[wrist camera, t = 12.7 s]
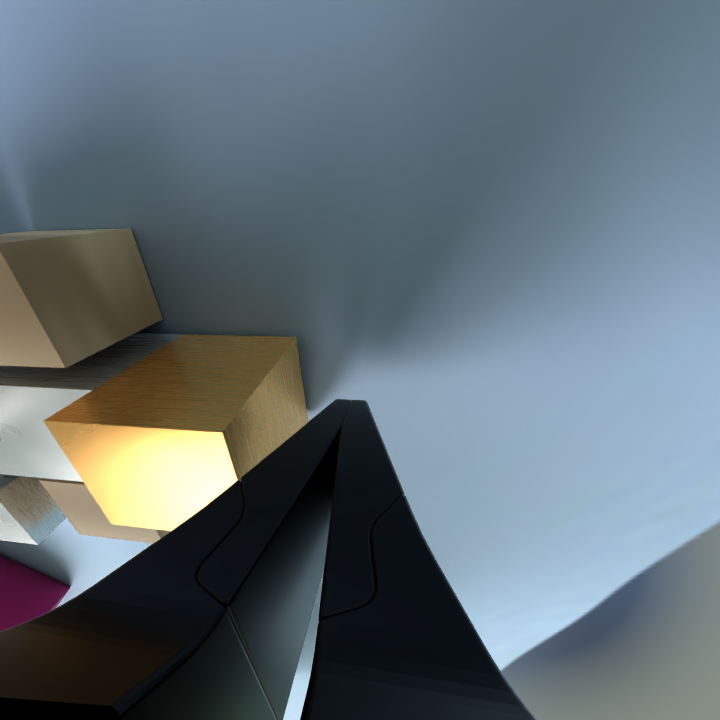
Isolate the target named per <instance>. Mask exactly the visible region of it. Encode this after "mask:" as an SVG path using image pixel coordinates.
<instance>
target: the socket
mask: <svg viewBox="0 0 720 720" xmlns="http://www.w3.org/2000/svg"><path fill="white" fill-rule="evenodd" d="M40 479H41V478H37V477H26V476H16V475H5V474H0V540H3V541H11V542H19V543H27V544H34V545H38V544H39V543H40V542H41V541H42V540H44V539H45V538H46V537H47V536H48V535H49V534H50V533H51V532H52V531H53V530H54V529H55V528H56V527H57V526H58V525H59V524H60V523H61V522H62V521H64V520H65V519H66V518H67V517H66V516H65V514H64V513H63V512H62V510H61V509H60V508H59V506H58V505H57V504H56V503H55V501H54V500H53V499H52V497H51V496H50V495H49V493H48V492H47V491H46V489H45V488H44V487H43V485H42V484H41V483H40V481H39V480H40Z"/></svg>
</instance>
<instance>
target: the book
mask: <svg viewBox="0 0 720 720" xmlns="http://www.w3.org/2000/svg"><path fill="white" fill-rule="evenodd" d="M69 589H70V587H69V586H67V585H65V584H63V583H60V582H58V581H56V580H54V579H52V578H50V577H47V576H45V575H43V574H41V573H39V572H37V571H35V570H32V569H30V568H28V567H26V566H24V565H22V564H20V563H17V562H15V561H13V560H11V559H9V558H7V557H4V556H2V555H0V631H2V630H5V629H8V628H11V627H14V626H17V625H19V624H22V623H25V622H27V621H30V620H32V619H34V618H37V617H39V616H41V615H43V614H45V613H47V612H49V611H51V610H53V609H55V608H56V607H57V605H58V604H59V603H60V601H61V600H62V598H63V597H64V596H65V594H66V593H67V591H68V590H69Z"/></svg>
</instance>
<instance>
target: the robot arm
mask: <svg viewBox="0 0 720 720" xmlns="http://www.w3.org/2000/svg"><path fill="white" fill-rule="evenodd" d="M324 564H325V566H324ZM323 568H324V575H323V584H322V593H321V602H320V610H319V623H318V629H317V637H316V644H315V652H314V658H313V664H312V670H311V676H310V680H309V685H308V689H307V694H306V698H305V702H304V706H303V710H302V715H301V719H300V720H536V718H535V717H534V716H533V715H532V714H531V713H530V711H529V710H528V709H527V708H526V706H525V705H524V704H523V703H522V701H521V700H520V699H519V697H518V696H517V695H516V693H515V692H514V690H513V689H512V687H511V686H510V685H509V683H508V682H507V680H506V679H505V677H504V676H503V675H502V673H501V671H500V670H499V668H498V667H497V665H496V663H495V662H494V660H493V659H492V657H491V655H490V654H489V652H488V650H487V649H486V647H485V645H484V644H483V642H482V640H481V638H480V637H479V635H478V633H477V631H476V630H475V628H474V626H473V624H472V623H471V621H470V619H469V617H468V616H467V614H466V612H465V610H464V609H463V607H462V605H461V603H460V602H459V600H458V598H457V596H456V595H455V593H454V591H453V589H452V588H451V586H450V584H449V582H448V581H447V579H446V577H445V575H444V573H443V572H442V570H441V568H440V566H439V565H438V563H437V561H436V559H435V557H434V555H433V554H432V552H431V550H430V548H429V546H428V544H427V542H426V540H425V539H424V537H423V535H422V533H421V530H420V528H419V526H418V524H417V521H416V519H415V517H414V515H413V513H412V510H411V508H410V506H409V503H408V501H407V498H406V496H404V491H403V489H402V487H401V484H400V482H399V479H398V477H397V474H396V472H395V469H394V467H393V465H392V462H391V460H390V457H389V455H388V452H387V450H386V448H385V445H384V443H383V440H382V438H381V435H380V433H379V430H378V428H377V426H376V423H375V421H374V418H373V416H372V413H371V411H370V409H369V406H368V404H367V402H366V401H364V400H347V399H336V400H335V401H333V402H332V403H331V404H330V405H328V406H327V407H326V408H325V409H324V410H322V411H321V412H320V413H319V414H318V415H316V416H315V417H314V418H313V419H311V420H310V421H309V422H308V423H307V424H305V425H304V426H303V427H302V428H301V429H299V430H298V431H297V432H296V433H294V434H293V435H292V436H291V437H290V438H288V439H287V440H286V441H285V442H283V443H282V444H281V445H280V446H279V447H277V448H276V449H275V450H274V451H273V452H271V453H270V454H269V455H268V456H266V457H265V458H264V459H263V460H262V461H260V462H259V463H258V464H257V465H255V466H254V467H253V468H252V469H251V470H249V471H248V472H247V473H246V474H245V475H243V476H242V477H241V478H240V480H237V481H236V482H235V483H233V484H232V485H231V486H230V487H229V488H227V489H226V490H225V491H224V492H222V493H221V494H220V495H219V496H217V497H216V498H215V499H213V500H212V501H211V502H210V503H208V504H207V505H206V506H205V507H203V508H202V509H201V510H199V511H198V512H197V513H195V514H194V515H193V516H191V517H190V518H188V519H187V520H186V521H184V522H183V523H182V524H180V525H179V526H177V527H176V528H175V529H173V530H172V531H171V532H169V533H168V534H166V535H165V536H163V537H162V538H160V539H159V540H158V541H156V542H155V543H153V544H152V545H150V546H149V547H148V548H146V549H145V550H143V551H142V552H140V553H139V554H138V555H136V556H135V557H133V558H132V559H130V560H129V561H128V562H126V563H125V564H123V565H122V566H120V567H119V568H118V569H116V570H115V571H113V572H112V573H110V574H109V575H108V576H106V577H105V578H103V579H102V580H100V581H99V582H98V583H96V584H95V585H93V586H92V587H90V588H89V589H87V590H86V591H84V592H83V593H81V594H80V595H78V596H77V597H75V598H73V599H71V600H70V601H68V602H66V603H64V604H63V605H61V606H59V607H57V608H55V609H53V610H51V611H49V612H47V613H45V614H43V615H41V616H39V617H37V618H34V619H32V620H30V621H27V622H25V623H22V624H19V625H17V626H14V627H11V628H8V629H5V630H2V631H0V720H283V717H284V713H285V710H286V706H287V702H288V698H289V695H290V691H291V687H292V684H293V680H294V676H295V672H296V669H297V665H298V661H299V657H300V654H301V650H302V646H303V643H304V639H305V635H306V631H307V628H308V624H309V620H310V617H311V613H312V609H313V605H314V602H315V598H316V594H317V590H318V587H319V583H320V579H321V576H322V572H323Z"/></svg>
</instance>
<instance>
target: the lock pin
mask: <svg viewBox="0 0 720 720" xmlns="http://www.w3.org/2000/svg"><path fill="white" fill-rule="evenodd" d="M307 422H308V417H307V410H306V402H305V395H304V388H303V381H302V374H301V367H300V360H299V353H298V346H297V339H296V337H277V336H234V335H192V334H149V333H134V334H132V335H130V336H128V337H126V338H124V339H122V340H120V341H118V342H116V343H114V344H112V345H110V346H108V347H106V348H104V349H102V350H100V351H98V352H96V353H94V354H92V355H90V356H88V357H86V358H84V359H83V360H81V361H79V362H77V363H75V364H73V365H71V366H69V367H67V368H52V367H27V366H3V365H0V474H5V475H16V476H26V477H37V478H47V479H58V480H68V481H79V482H84V483H85V485H86V486H87V488H88V490H89V491H90V493H91V494H92V496H93V497H94V499H95V500H96V502H97V503H98V505H99V506H100V508H101V509H102V511H103V512H104V514H105V515H106V517H107V518H108V520H109V521H110V523H111V524H114V525H123V526H131V527H140V528H149V529H158V530H167V531H172V530H173V529H175V528H176V527H177V526H179V525H180V524H182V523H183V522H184V521H186V520H187V519H188V518H190V517H191V516H193V515H194V514H195V513H197V512H198V511H199V510H201V509H202V508H203V507H205V506H206V505H207V504H208V503H210V502H211V501H212V500H213V499H215V498H216V497H217V496H219V495H220V494H221V493H222V492H224V491H225V490H226V489H227V488H229V487H230V486H231V485H232V484H233V483H235V482H236V481H237V480H240V478H241V477H242V476H243V475H245V474H246V473H247V472H248V471H249V470H251V469H252V468H253V467H254V466H255V465H257V464H258V463H259V462H260V461H262V460H263V459H264V458H265V457H266V456H268V455H269V454H270V453H271V452H273V451H274V450H275V449H276V448H277V447H279V446H280V445H281V444H282V443H283V442H285V441H286V440H287V439H288V438H290V437H291V436H292V435H293V434H294V433H296V432H297V431H298V430H299V429H301V428H302V427H303V426H304V425H305V424H307Z"/></svg>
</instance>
